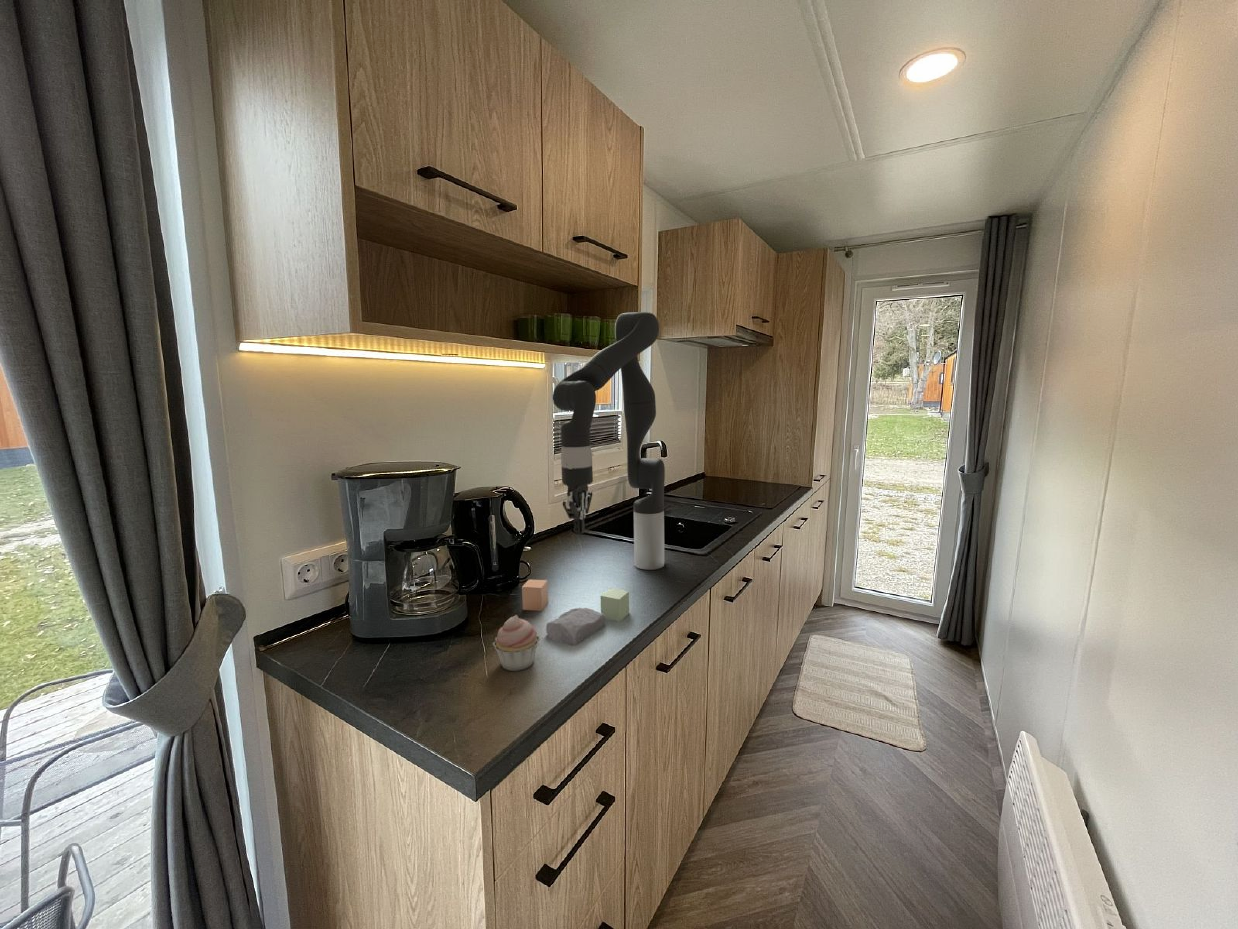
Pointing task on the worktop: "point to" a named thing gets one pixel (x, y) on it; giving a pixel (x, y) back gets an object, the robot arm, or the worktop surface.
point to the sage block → (615, 604)
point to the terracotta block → (535, 594)
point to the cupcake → (516, 644)
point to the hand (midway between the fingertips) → (579, 533)
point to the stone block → (575, 625)
